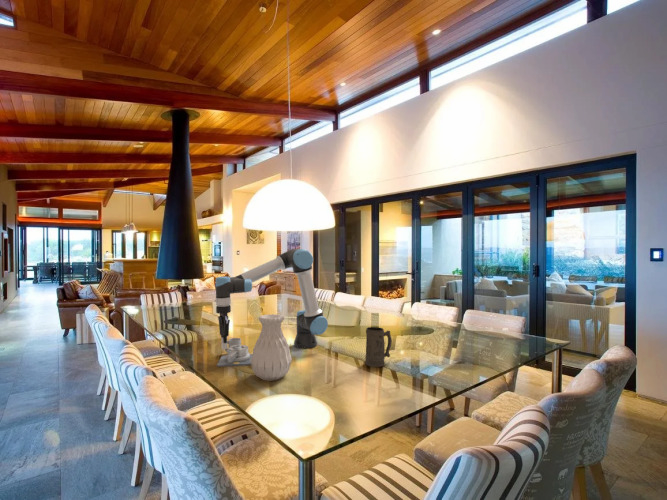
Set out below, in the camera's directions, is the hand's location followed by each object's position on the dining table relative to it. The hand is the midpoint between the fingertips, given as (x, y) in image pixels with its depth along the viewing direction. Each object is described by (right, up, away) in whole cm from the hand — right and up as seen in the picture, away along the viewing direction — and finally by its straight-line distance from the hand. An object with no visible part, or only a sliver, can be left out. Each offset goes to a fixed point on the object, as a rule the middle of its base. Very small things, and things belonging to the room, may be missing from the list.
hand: (224, 348), depth 194 cm
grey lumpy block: (+5, -5, +4) cm, 8 cm away
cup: (-2, -9, +21) cm, 23 cm away
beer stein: (+84, -10, +4) cm, 85 cm away
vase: (+28, -10, -17) cm, 34 cm away
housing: (+5, -9, +8) cm, 13 cm away
